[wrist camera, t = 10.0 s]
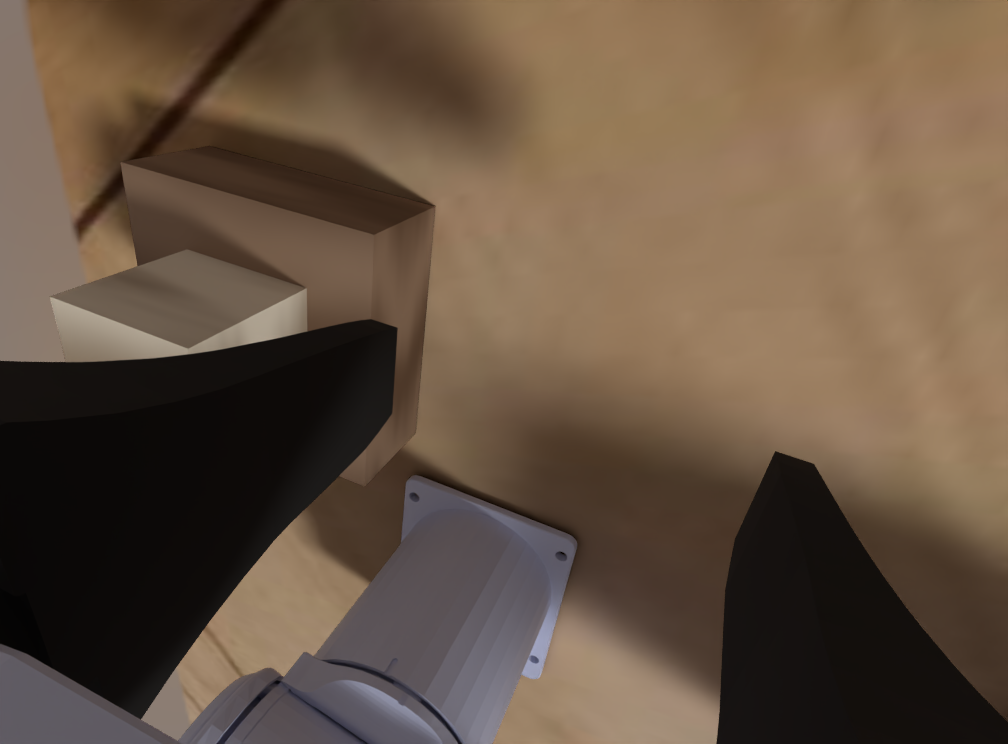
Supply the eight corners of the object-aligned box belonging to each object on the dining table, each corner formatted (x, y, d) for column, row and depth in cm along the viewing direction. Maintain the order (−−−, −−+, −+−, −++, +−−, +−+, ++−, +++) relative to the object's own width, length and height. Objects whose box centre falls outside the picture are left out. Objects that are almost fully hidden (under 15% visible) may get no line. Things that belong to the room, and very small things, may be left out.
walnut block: (415, 433, 27) (364, 486, 24) (229, 363, 30) (160, 403, 27) (435, 206, 22) (374, 234, 19) (209, 146, 25) (120, 161, 21)
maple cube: (308, 411, 23) (206, 490, 19) (201, 370, 25) (83, 436, 21) (306, 288, 21) (188, 348, 17) (187, 249, 22) (49, 296, 18)
